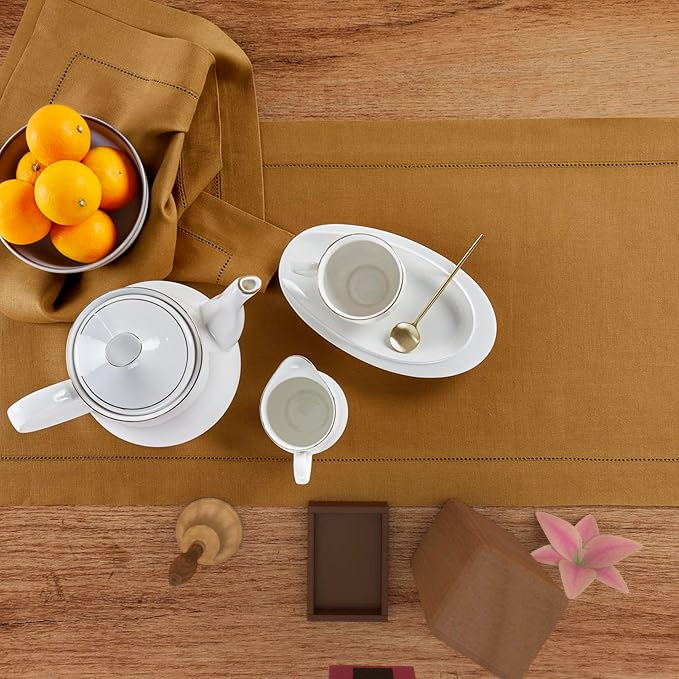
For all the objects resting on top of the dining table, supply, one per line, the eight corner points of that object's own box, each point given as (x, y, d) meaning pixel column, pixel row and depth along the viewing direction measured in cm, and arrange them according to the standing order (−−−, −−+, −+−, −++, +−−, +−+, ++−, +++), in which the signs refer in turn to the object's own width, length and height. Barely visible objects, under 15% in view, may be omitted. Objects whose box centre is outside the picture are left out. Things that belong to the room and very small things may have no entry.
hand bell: (242, 565, 80) (217, 620, 64) (175, 564, 80) (132, 619, 64) (243, 497, 80) (218, 536, 64) (176, 496, 80) (134, 534, 64)
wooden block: (518, 536, 80) (576, 602, 60) (474, 605, 80) (517, 694, 60) (449, 492, 80) (483, 543, 60) (405, 561, 80) (425, 634, 60)
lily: (634, 540, 80) (656, 521, 72) (608, 634, 76) (629, 625, 67) (538, 501, 84) (548, 479, 76) (508, 589, 80) (516, 575, 71)
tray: (386, 612, 80) (388, 622, 77) (308, 611, 80) (306, 621, 77) (387, 501, 80) (388, 507, 77) (308, 500, 80) (307, 506, 77)
